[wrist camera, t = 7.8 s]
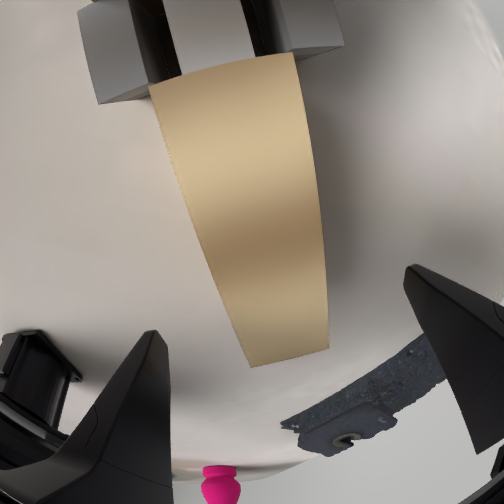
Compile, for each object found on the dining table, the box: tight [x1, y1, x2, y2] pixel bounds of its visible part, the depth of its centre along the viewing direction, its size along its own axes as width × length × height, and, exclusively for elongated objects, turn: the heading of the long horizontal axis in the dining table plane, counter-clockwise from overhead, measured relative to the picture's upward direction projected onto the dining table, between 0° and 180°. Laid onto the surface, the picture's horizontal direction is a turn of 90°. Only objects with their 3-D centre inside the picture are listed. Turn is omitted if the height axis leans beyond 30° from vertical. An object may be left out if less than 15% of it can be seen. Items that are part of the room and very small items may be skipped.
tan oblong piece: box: [148, 0, 329, 368], centre depth 9 cm, size 14×4×5 cm, turn 13°
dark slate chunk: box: [281, 333, 447, 457], centre depth 25 cm, size 15×22×5 cm
